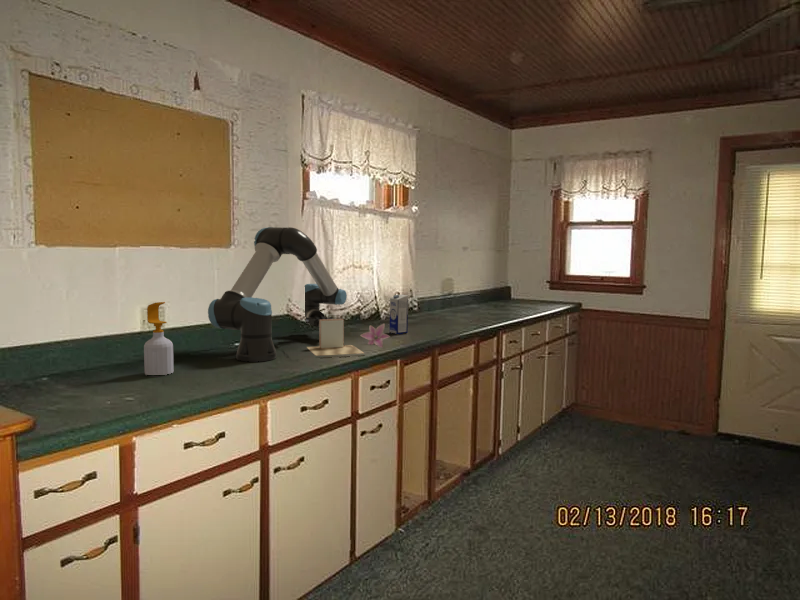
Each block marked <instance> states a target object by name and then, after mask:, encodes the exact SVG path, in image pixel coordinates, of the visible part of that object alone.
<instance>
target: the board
mask: <svg viewBox="0 0 800 600" xmlns="http://www.w3.org/2000/svg"><path fill="white" fill-rule="evenodd" d="M306 349H308V350H309V351H310V353H312V354H313V355H314V356H317V357H318V356H319V357H320V356H327V357H321V359H333V358H332V357H333V356H336V355H337V356H338V355H340V358H351V357H350V356H351V355H356V354H361V355H359V357H365V355H362V354H365V352H363V351H362V350H361V349H359V348H358V347H356V346H355V345H352V344H345V345H344V348H323V349H320V348H319V345H318V346H306ZM342 355H344V356H342ZM345 355H346V356H345Z"/></svg>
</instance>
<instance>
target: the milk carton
mask: <svg viewBox="0 0 800 600" xmlns="http://www.w3.org/2000/svg"><path fill="white" fill-rule="evenodd" d="M408 315H409V295H407V294H395V295H393V296H392V297H389V333H390V332H391V333H390V334H392V333H395V334H394V335H396V334H399V335H404V334H403V333H408V332H409V331H408V327H409V326H408V325H409V324H408V321H409V319H408V318H409V316H408Z"/></svg>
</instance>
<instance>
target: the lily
mask: <svg viewBox="0 0 800 600" xmlns="http://www.w3.org/2000/svg"><path fill="white" fill-rule="evenodd" d="M385 325H386V324H385V323H382V324H380V325H378V326H377V327H376V328H375V327H374V326H373V325H369V328H368V330H369V331H365V332H364V333H361V334H360V337H362V338H363V339H366V340H368V341H367V345H370V346H371V345H374V344H375V345H376V346H377V347H378V348H380V349H383V348H384V343H383V341H384V340H385V339H388V338H390V337H391V336H390V335H389V334H387V333H384V331H385V328H386V327H385Z"/></svg>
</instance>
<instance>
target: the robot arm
mask: <svg viewBox="0 0 800 600" xmlns="http://www.w3.org/2000/svg"><path fill="white" fill-rule="evenodd" d="M253 245H254V251H255V252H254V254H253V255H252V257H251V258H250V260H249V261H248V263H247V264H246V266H245V268H244V269H243V270H242V272H241V274H240V275H239V277H238V279H236V281H235V283H234V285H233V286H232V287H231V289H230V290H226V291H225V292H224V293H223V294H222V296H221V297H220V299H219V298H216V299H213V300H211V302H210V303H209V306H208V308H207V315H208V316H207V317H208V320H209V323H210V324H211V325H212V326H213V327H214V328H216V329H222V330H234V331H235V330H236V331H240V341H239V344H238V347H237V351H236V360H237V361H240V360H241V362H247V361H249V362H252V363H254V362H257V363H258V361H259V362H269V361H272V360H276V358H277V350H276V347H275V344H274V342H273V338H272V334H273V333H272V329H273V326H272V325H273V324H272V323H273V322H272V315H273V311H272V304H271V302H270V301H269V300H267V299H265V298H259V297H253V296H254V294H255V292H257V290H258V288H259V286H260V284H261V282H262V281H263V279H264V278H265V276H266V274H267V273H268V271H269V270H270V268H271V266H272V265H273V263H276V262H278V261H279V260H280V258H281V257H282V255H293V256H295V257H296V258H297V260H298V261H299V262H302V264H303V265H304V266H305V268H306V270H307V271H308V272H309V275H310V276H311V277H312V279H313V280H314V282H315V283H306V284H305V285H304V287H305V317H306V320H305V324H309V325H311V326H313V327H316V328H317V327H318V328H319V320H322V319H333V317H332V316H328V317H327V316H325V314H324V313H323V312H322V311H320V309H321V308H320V306H321V304H323V305H325V304H326V305H334V306H337V305H341V306H342V305H344V304H346V301H347V299H348V297H347V292H346V290H345V289H342V288H339V287H338V286H337V284H336V283H335V281H334V279H333V278H332V276H331V274H330V272H329V270H328V269H327V268H326V266H325V264H324V262H323V261H322V259H321V257H320V256H319V254H318V249H317V245H315V243H314V242H313V240H311V238H310V237H309V236H308V235H307V234H306V233H304V232H303V231H301V230H300V229H298V228H295V227H291V226H290V227H289V226H288V227H277V226H275V227H273V226H269V227H262V228H261V229H259V230H257V232H256V234H255V236H254V241H253Z"/></svg>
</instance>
